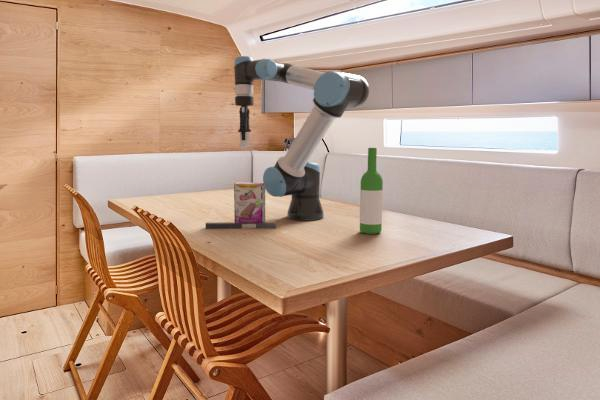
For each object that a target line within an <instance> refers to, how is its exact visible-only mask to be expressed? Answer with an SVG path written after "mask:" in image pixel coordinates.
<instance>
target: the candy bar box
mask: <svg viewBox="0 0 600 400" xmlns="http://www.w3.org/2000/svg"><path fill="white" fill-rule="evenodd" d="M233 186H234V187H233V193H234V197H233V202H234V203H233V204H234V206H233V208H234V222H266V189H265V183H264V182H242V181H241V182H240V181H239V182H238V181H237V182H235V183H234V185H233Z"/></svg>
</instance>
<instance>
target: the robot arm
mask: <svg viewBox="0 0 600 400" xmlns="http://www.w3.org/2000/svg"><path fill="white" fill-rule="evenodd" d="M233 65H234V67H233V69H234V87H233V89H232V90H234V95H235V97H234V103H235V106H237V107H239V111H238V112H239V129H238V133H239V141H240V143H239V145H240V147H239V148H240V150H241V149H243V150H244V149H248V148H251V147H250V146H251V145H250V142H251V141H250V132H252V129H250V114H251V113H250V110H249V109H250V108H248V107H252V106H254V102H255V101H254V96H253V95H254V81H260V80H262V81H273V82H279V83H285V84H288V85H293V86H296V87H299V88H303V89H306V90H307V89H308V90H311V91H314V92H313V99H312V103H313V107H312V109H311V110H310V113H309V114H308V116H307V117H306V119H305V121H304V123H303V124H302V125H301V127H300V130H299V131H298V133H297V134H296V136H295V138H294V140H293V141H292V143H291V145H290V146H289V148H288V150H287V152H286V153H285V155H283V156H280V157H278V159H277V161H276V162H275V164H274V166H269V167H268V168H266V169H265V170H264V172H263V175H262V183H265V192H266V193H268V194H269V195H270V196H272V197H274V198H275V197H277V198H278V197H279V198H282V197H286V196H287V197H288V196H291V200H290V202H289V207H288V208H287V212H286V214H287V218H288V219H289V220H294V221H317V220H322V219H324V215H325V214H324V210H323V206H322V203H321V200H320V191H321V189H320V187H321V185H320V182H321V181H320V180H321V177H320V176H321V171H320V165H319V163H316V162H309V160H310V159H311V157H312V156H313V155H314V153H315V151H316V149H317V148H318V146H319V144H320V143H321V142H322V139H323V138H324V137H325V135H326V134H327V132H328V131H329V129H330V127H331V126H332V124H333V122H334V121H335V120H336V119H340V118H342V116H343V114H344V112H346V110H347V108H349V109H350V108H358V107H360V106H363V104H365V102H366V101H367V99H368V97H369V95H370V87H369V83H368V82H367V80H366V79H365V78H364V77H363V76H361V75H358V74H355V73H347V72H343V71H339V70H334V71H326V72H323V71H319V70H315V69H310V68H307V67H302V66H298V65H294V64H291V63H288V62H287V63H285V62H277V61H274V59H271V58H261V59H256V60H255V59H253V57H252V56H249V55H248V56H246V55H242V56H241V55H240V56H236V57H235V58H234V64H233Z"/></svg>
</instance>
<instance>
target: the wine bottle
mask: <svg viewBox="0 0 600 400" xmlns="http://www.w3.org/2000/svg"><path fill="white" fill-rule="evenodd" d="M377 154H378V153H377V147H369V148H367V170H366V171H365V172H364V173H363V175H362V176H361V179H360V189H359V192H360V194H359V195H360V197H359V198H360V199H359V231H360V232H361V233H362V234H365V233H366V234H367V235H377V233H378V234H380V233H381V232H382V227H383V226H382V225H383V224H382V222H383V221H382V219H383V184H384V183H383V182H384V181H383V177H382V175H381V174H380V173H379V172H378V171H377Z"/></svg>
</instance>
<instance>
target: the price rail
mask: <svg viewBox="0 0 600 400" xmlns="http://www.w3.org/2000/svg"><path fill="white" fill-rule="evenodd" d="M223 229H224V230H225V229H226V230H233V229H235V230H237V229H240V230H243V229H249V230H250V229H251V230H252V229H253V230H254V229H277V222H276V221H265V222H235V221H234V222H233V221H231V222H228V221H227V222H220V221H219V222H218V221H217V222H205V230H223Z"/></svg>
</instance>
